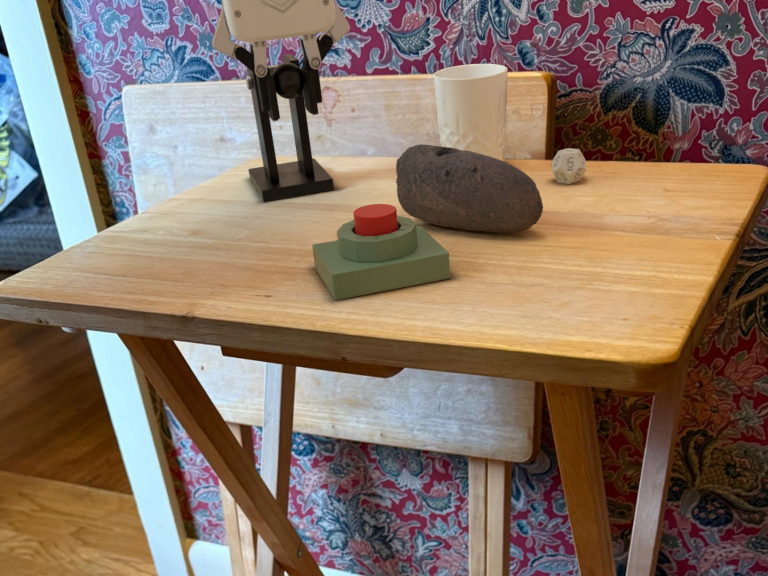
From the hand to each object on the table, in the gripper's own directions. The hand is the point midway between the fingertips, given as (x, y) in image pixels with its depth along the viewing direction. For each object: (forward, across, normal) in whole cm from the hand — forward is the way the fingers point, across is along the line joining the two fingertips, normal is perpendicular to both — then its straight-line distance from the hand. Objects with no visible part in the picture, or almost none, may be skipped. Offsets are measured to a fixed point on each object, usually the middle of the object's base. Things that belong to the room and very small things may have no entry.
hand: (293, 113), depth 89 cm
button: (+5, +2, -23) cm, 24 cm away
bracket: (+9, 0, +9) cm, 13 cm away
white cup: (+9, +20, +3) cm, 22 cm away
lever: (-1, 0, +4) cm, 4 cm away
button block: (+9, +2, -23) cm, 25 cm away
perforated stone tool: (+9, +13, -16) cm, 23 cm away
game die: (+9, +27, -7) cm, 29 cm away
